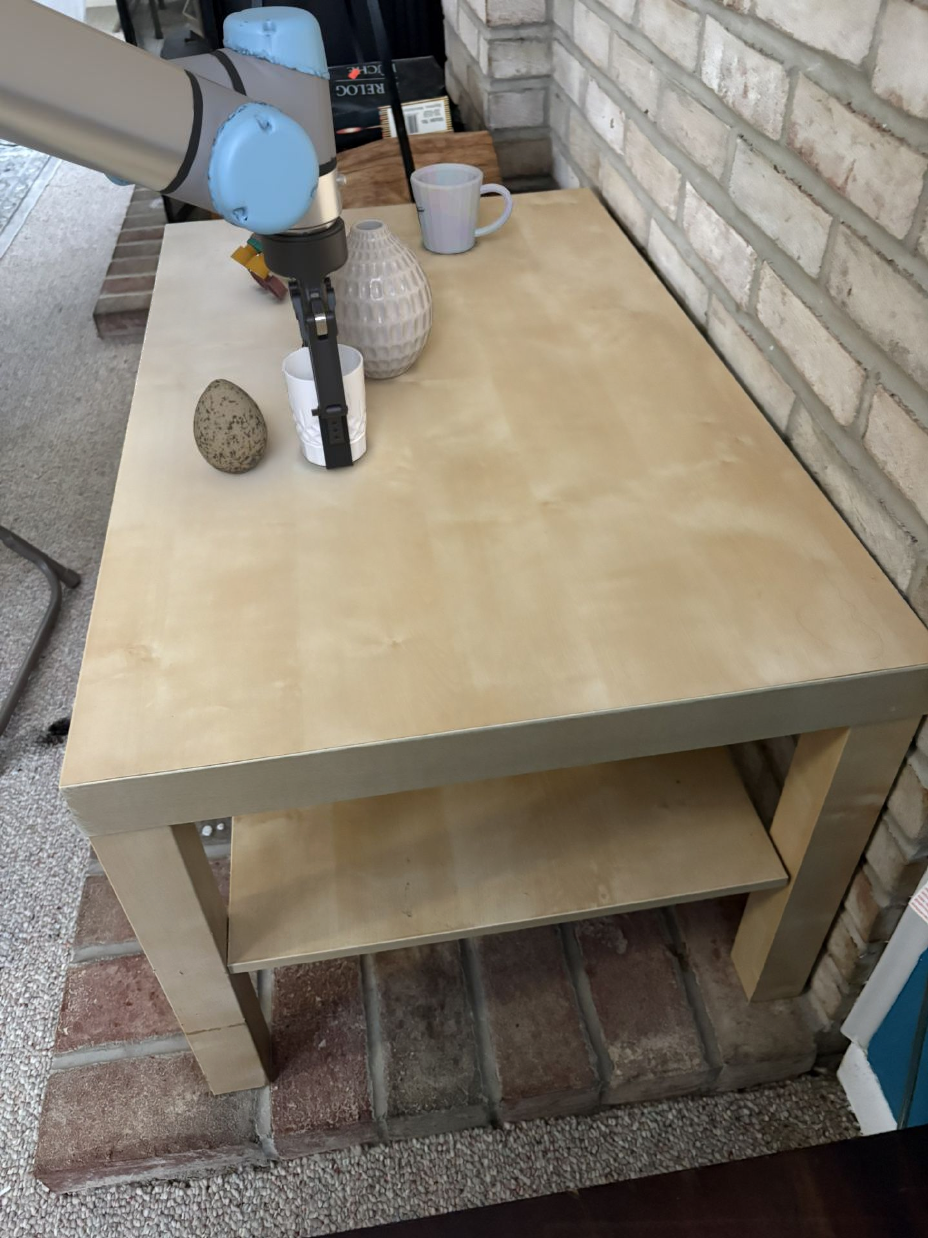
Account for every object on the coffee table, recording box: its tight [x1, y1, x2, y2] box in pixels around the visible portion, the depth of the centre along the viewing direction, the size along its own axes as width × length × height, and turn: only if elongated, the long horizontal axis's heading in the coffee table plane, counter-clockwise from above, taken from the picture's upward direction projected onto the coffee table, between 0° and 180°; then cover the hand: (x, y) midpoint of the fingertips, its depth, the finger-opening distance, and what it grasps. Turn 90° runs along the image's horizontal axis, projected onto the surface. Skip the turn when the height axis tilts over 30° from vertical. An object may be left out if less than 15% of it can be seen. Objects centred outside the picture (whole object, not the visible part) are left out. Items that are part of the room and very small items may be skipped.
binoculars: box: [229, 232, 293, 301], centre depth 124 cm, size 9×9×10 cm
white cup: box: [281, 344, 368, 467], centre depth 93 cm, size 8×8×10 cm
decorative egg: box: [192, 378, 268, 475], centre depth 92 cm, size 7×7×10 cm
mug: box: [409, 162, 515, 255], centre depth 134 cm, size 10×15×10 cm
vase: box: [326, 218, 434, 380], centre depth 105 cm, size 13×13×17 cm
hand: (333, 444), depth 96 cm, fingers closed on white cup, 8 cm apart
